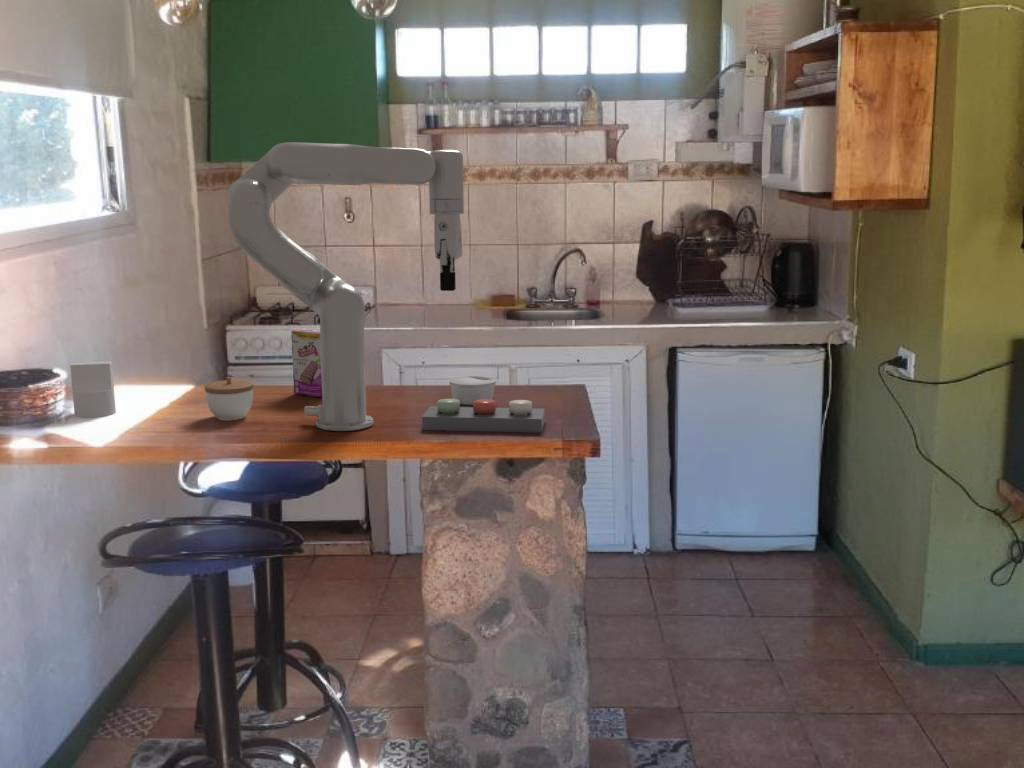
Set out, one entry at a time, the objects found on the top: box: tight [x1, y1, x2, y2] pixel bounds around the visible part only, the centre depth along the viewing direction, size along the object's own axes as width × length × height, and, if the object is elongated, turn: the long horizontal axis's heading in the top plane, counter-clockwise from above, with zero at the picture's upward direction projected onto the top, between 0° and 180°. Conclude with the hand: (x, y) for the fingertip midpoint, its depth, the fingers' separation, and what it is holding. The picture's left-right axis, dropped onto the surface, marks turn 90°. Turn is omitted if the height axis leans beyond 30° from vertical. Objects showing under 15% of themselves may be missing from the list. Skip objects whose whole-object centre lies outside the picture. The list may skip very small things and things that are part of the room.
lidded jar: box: [204, 376, 254, 422], centre depth 244 cm, size 11×11×9 cm
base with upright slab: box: [69, 360, 117, 419], centre depth 248 cm, size 9×9×12 cm
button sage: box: [436, 398, 461, 414], centre depth 237 cm, size 5×5×5 cm
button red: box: [472, 399, 497, 415], centre depth 236 cm, size 5×5×5 cm
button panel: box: [421, 405, 546, 433], centre depth 236 cm, size 26×10×3 cm, turn 84°
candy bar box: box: [290, 327, 322, 399], centre depth 267 cm, size 11×5×16 cm, turn 59°
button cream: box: [508, 399, 533, 416], centre depth 235 cm, size 5×5×5 cm
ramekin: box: [449, 375, 497, 406], centre depth 261 cm, size 11×11×5 cm
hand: (447, 290), depth 239 cm, fingers closed
